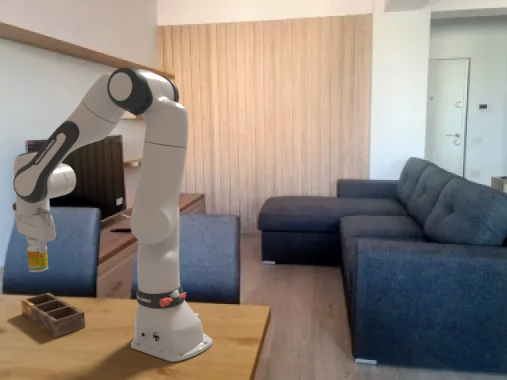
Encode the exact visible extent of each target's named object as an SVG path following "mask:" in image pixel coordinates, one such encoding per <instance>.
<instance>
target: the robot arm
mask: <svg viewBox="0 0 507 380" xmlns="http://www.w3.org/2000/svg"><path fill="white" fill-rule="evenodd" d="M126 112H129V114H131V115H133V116H135V117H138V116H141V117H142V118H143V119H144V121H145V132H144V141H143V147H142V156H141V164H140V172H139V176H138V181H137V186H136V189H135V194H134V199H133V205H132V211H131V214H130V215H131V216H130V222H129V223H130V225H129V226H130V231H131V233H132V234H133V236H134V237H135V239H136V240H138V250H137V258H136V263H137V265H136V266H137V267H136V268H137V286H138V287H137V288H136V300H137V301H136V302H137V303H138V304H137V305H138V306H137V309H136V312H135V314H134V322H133V323H134V328H133V340H132V341H131V342H130V348H131V349H133V350H136V351H139V352H142V353H145V354H148V355H151V356H153V357H157V358H159V359H162V360H165V361H168V362H173V363H174V362H180V361H182V360H183V361H184V360H187V359H190V358H192V357H194V356H197V355H199V354H201V353H203V352H205V351H206V350H207V349H209V348H210V347H211V346H212V345H213V338H212V337H210V336H209V335H207V334H206V333H204V330H203V323H202V320H201V318H200V317H201V316H200V314H199V313H198V312H194V309H192V308H191V306H190V305H189V304H188V303H187V301H186V300H185V299H186V297H187V295H186V294H187V292H186V291H185V292H184V290H183V286H182V284H181V279H180V277H181V276H180V274H181V273H180V272H181V271H180V234H181V233H180V231H181V230H180V229H181V228H180V226H181V225H180V223H181V222H180V219H181V218H180V217H181V215H180V206H179V199H180V196H181V190H182V189H181V188H182V183H183V179H184V173H185V172H184V171H185V165H186V159H187V158H186V157H187V150H188V142H189V114H188V110H187V109H186V107H185V106H183V104H181V103H180V93H179V89H178V87H177V86H176V84H175V82H173V81H172V80H170V79H169V78H168V77H165V76H163V75H162V76H161V75H159V74H158V73H157V74H156V73H155V72H153V71H150V70H146V69H142V68H137V67H134V66H123V67H119V68H117V69H115V70H114V71H113V72H112V71H110V72H106V73H103V74H102V75H101V76H100V77H99V78H98V79H97V80H96V81H95V82H94V83H93V84H92V86H91V87H90V88H89V89H88V91H87V92H86V93H85V95H84V96H83V98H82V99H81V101H80V103H78V105H77V107H76V108H75V109H74V110H73V112H71V114H70V115H69V116H68V117H67V118H66V119H65V120H64V121H62V123H61V124H60V125H59V126H58V127H57V128H56V129H55V130H54V131H53V132H52V134H51V135H50V136H49V137H48V138H47V140H46V141H44V144H42V146H41V147H40V149H39V150H38V151H31V152H25V153H21V154H18V155H17V156H15V158H14V164H13V176H14V177H13V181H12V182H13V183H12V185H13V190H14V192H15V193H16V196H15V198H16V199H15V200H16V201H15V202H13V203H12V204H11V208H12V210H13V211H14V221H15V227H16V230H17V232H18V233H19V234H22V235H25V238H26V239H25V240H26V242H27V245H28V247H29V246H30V244H29V239H31V238H35V239H38V243H39V247H38V253H40V254H43V253H46V246H47V244H48V242H52V241H55V239H56V237H57V234H56V227H55V226H56V225H55V221H54V218H53V216H52V214H50V213H49V211H51V205H50V199H53V198H58V197H61V196H65V195H68V194H71V193H72V192H73V191H74V190H75V188H76V185H77V181H78V180H77V175H76V172H75V170H74V169H73V168H72V166H70V165H69V164H67V163H63V161H64V160H65V159H66V157H67V156H68V155H70V154H71V153H72V152H74V151H75V150H77V149H79V148H81V147H84V146H86V145H89V144H92V143H95V142H99V141H102V140H104V139H105V138H106V137H108V136H109V135H110V134H111V133H112V132H113V131H114V130H115V128H116V127H117V125H118V124H119V122H120V121H121V119H122V118H123V116H124V115H125V113H126Z"/></svg>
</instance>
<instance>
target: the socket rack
mask: <svg viewBox="0 0 507 380" xmlns="http://www.w3.org/2000/svg"><path fill="white" fill-rule="evenodd" d="M20 301H21V302H20V303H21V313H22V314H21V315H23V316H24V317H26V318H27V319H29V320H31V322H33V323H35V324H36V325H38V327H40V328H42V329H43V330H44V331H46V332H48V333H49V334H51V335H52V336H53V337H54V338H59V337H61V336H64V335H66V334H67V335H68V334H70V333H73V332H76V331H78V330H82V329H84V328H86V320H85V319H86V317H85V312H84V311H83V310H81V309H79V308H78V307H76V306H74V305H72V304H70V303H69V302H66V300H63V299H61V298H59V296H58V297H57V296H56V295H54V294H52V293H51V292H47V293H42V294H39V295H35V296H32V297H28V298H24V299H21V300H20Z"/></svg>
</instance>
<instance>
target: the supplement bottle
mask: <svg viewBox="0 0 507 380" xmlns="http://www.w3.org/2000/svg"><path fill="white" fill-rule="evenodd" d="M29 244H30V246H29V245H28V246H27V249H26V251H27V261H28V263H27V264H28V272H30V273H40V272H44V271H46V270H49V261H48V259H49V258H48V246H47V245H46V253H43V254H40V253H38V247H39V243H38V239H35V238H31V239H29Z"/></svg>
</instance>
